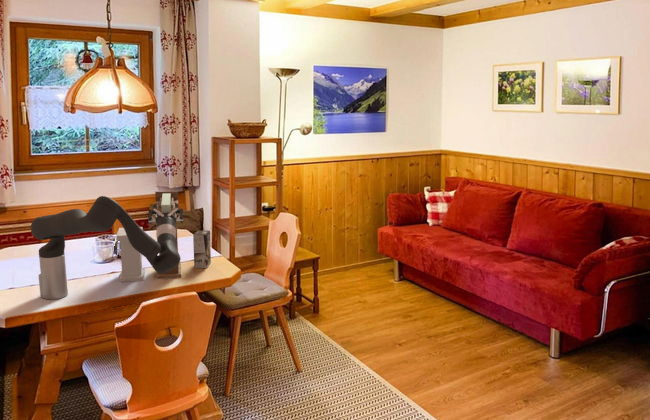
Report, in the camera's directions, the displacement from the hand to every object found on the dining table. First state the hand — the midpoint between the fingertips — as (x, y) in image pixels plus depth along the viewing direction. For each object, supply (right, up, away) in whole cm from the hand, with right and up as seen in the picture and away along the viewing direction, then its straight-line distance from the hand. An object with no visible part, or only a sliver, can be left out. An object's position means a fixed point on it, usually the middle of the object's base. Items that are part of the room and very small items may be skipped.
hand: (165, 204), depth 244 cm
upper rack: (-4, -31, +21) cm, 38 cm away
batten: (-2, -1, +8) cm, 9 cm away
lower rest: (-19, -32, +14) cm, 40 cm away
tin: (-31, -25, +46) cm, 61 cm away
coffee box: (+9, -29, +32) cm, 44 cm away
